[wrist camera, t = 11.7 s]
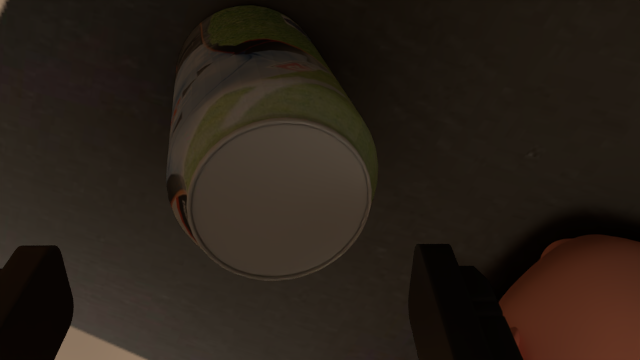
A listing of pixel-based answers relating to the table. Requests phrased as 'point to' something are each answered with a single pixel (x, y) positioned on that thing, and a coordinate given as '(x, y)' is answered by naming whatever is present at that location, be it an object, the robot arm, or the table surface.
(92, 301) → the table surface
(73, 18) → the table surface
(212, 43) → the beverage can
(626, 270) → the teapot
